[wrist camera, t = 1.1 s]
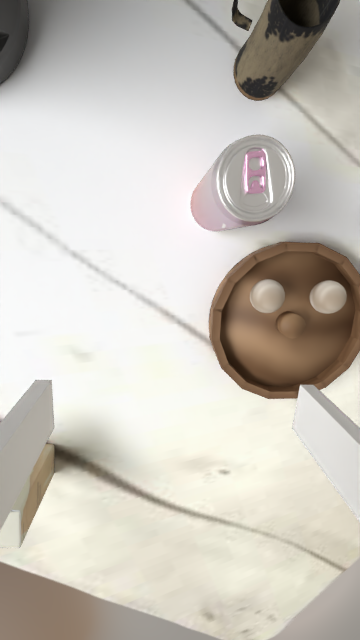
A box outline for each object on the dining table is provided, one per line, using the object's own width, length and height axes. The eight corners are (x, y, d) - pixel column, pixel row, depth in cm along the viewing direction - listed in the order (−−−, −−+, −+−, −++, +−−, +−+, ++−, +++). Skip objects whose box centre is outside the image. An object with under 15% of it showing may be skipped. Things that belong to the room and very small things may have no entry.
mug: (293, 55, 32) (371, -51, 20) (272, 110, 33) (335, 39, 22) (225, 20, 31) (268, -114, 19) (206, 78, 32) (235, -15, 20)
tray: (213, 240, 36) (218, 240, 33) (369, 244, 38) (386, 245, 35) (205, 390, 41) (208, 401, 38) (343, 388, 43) (356, 399, 40)
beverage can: (239, 176, 35) (299, 128, 20) (240, 229, 36) (296, 221, 22) (188, 179, 34) (212, 133, 20) (191, 233, 36) (215, 227, 21)
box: (54, 474, 43) (20, 551, 32) (22, 472, 42) (-23, 551, 32) (54, 442, 41) (19, 511, 31) (22, 440, 41) (-25, 510, 30)
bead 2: (305, 278, 37) (323, 282, 33) (336, 278, 38) (357, 282, 34) (301, 309, 38) (318, 317, 34) (331, 309, 39) (351, 317, 35)
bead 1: (246, 277, 37) (257, 281, 33) (278, 277, 37) (293, 281, 33) (244, 308, 38) (254, 316, 34) (275, 309, 38) (288, 316, 34)
